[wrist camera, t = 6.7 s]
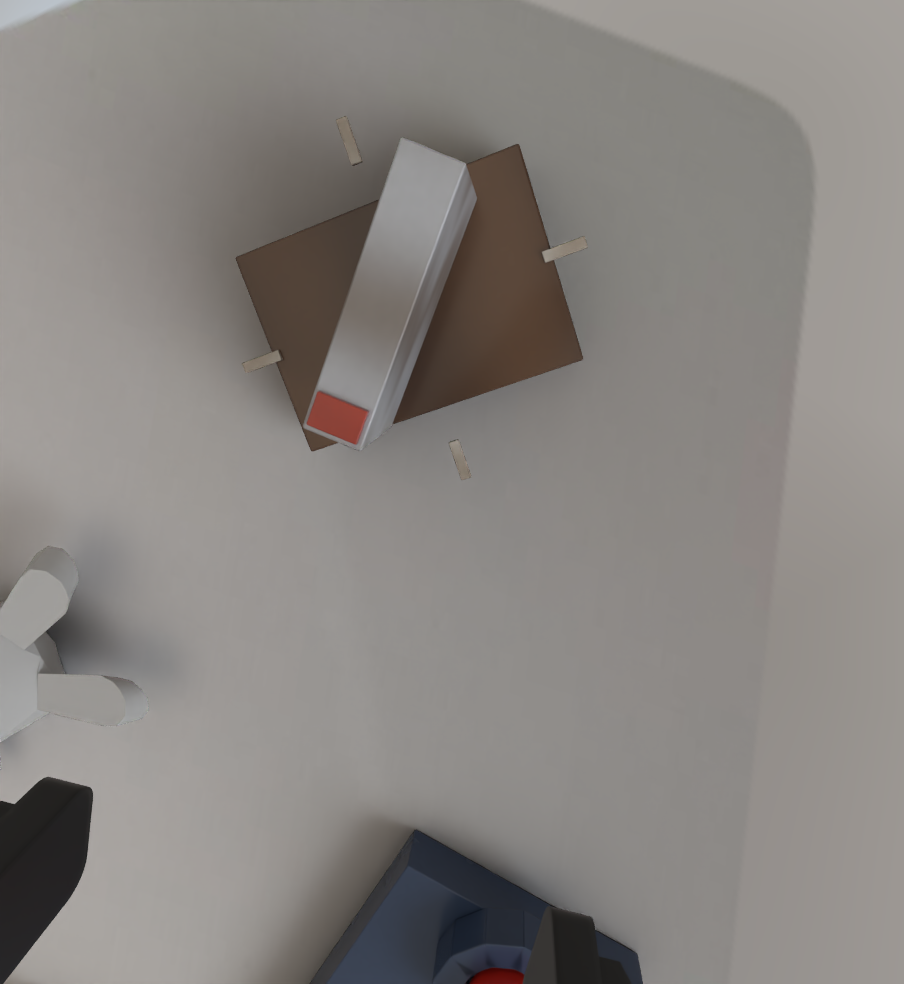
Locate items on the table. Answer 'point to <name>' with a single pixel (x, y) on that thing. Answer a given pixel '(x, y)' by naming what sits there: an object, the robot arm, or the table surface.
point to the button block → (443, 924)
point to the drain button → (498, 976)
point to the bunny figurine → (52, 657)
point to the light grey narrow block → (392, 295)
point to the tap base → (460, 310)
